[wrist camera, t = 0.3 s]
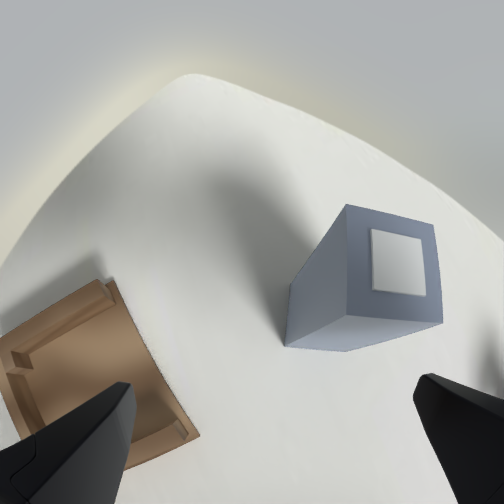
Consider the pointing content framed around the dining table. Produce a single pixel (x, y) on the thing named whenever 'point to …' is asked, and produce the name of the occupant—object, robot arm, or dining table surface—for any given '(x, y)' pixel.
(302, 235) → the dining table surface
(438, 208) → the dining table surface
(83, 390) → the pocket
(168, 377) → the dining table surface
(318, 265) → the grey tall block
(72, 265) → the dining table surface
